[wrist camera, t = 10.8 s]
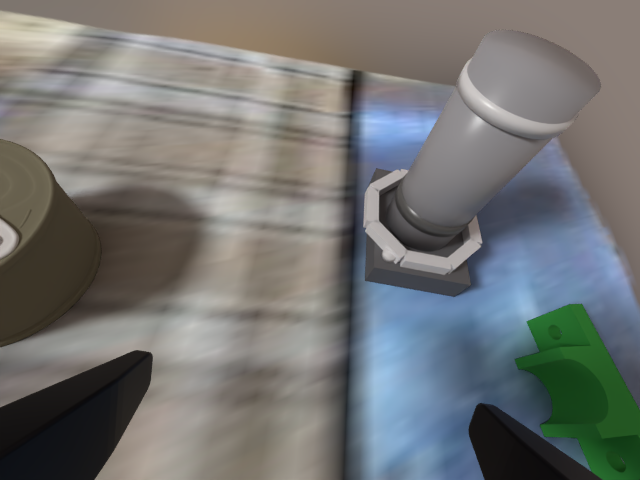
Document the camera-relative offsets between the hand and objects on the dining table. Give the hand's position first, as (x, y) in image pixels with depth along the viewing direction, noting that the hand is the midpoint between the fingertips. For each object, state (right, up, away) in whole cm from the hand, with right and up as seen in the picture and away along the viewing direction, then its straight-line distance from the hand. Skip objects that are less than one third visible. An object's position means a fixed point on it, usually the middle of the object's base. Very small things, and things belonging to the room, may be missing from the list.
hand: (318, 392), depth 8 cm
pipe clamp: (+18, -8, +15) cm, 25 cm away
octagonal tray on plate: (+8, +4, +21) cm, 23 cm away
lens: (+9, +6, +19) cm, 21 cm away
